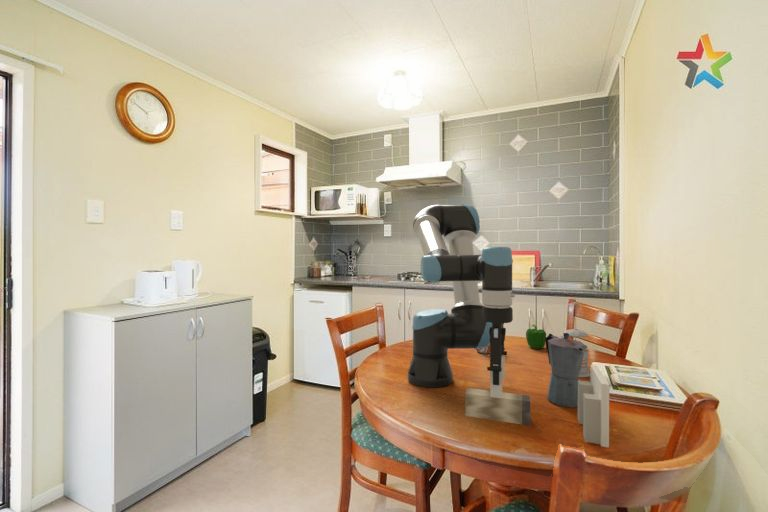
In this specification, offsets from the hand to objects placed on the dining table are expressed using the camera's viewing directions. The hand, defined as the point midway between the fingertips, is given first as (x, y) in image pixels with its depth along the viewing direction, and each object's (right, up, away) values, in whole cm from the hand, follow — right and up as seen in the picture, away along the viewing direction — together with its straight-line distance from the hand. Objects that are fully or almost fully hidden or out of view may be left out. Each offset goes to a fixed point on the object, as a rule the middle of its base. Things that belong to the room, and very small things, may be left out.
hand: (498, 387), depth 95 cm
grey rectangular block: (0, -8, +1) cm, 8 cm away
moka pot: (+22, -8, +11) cm, 26 cm away
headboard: (+20, -8, -7) cm, 22 cm away
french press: (+37, -7, +35) cm, 52 cm away
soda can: (+13, -7, +61) cm, 63 cm away
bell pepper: (+38, -7, +67) cm, 77 cm away
